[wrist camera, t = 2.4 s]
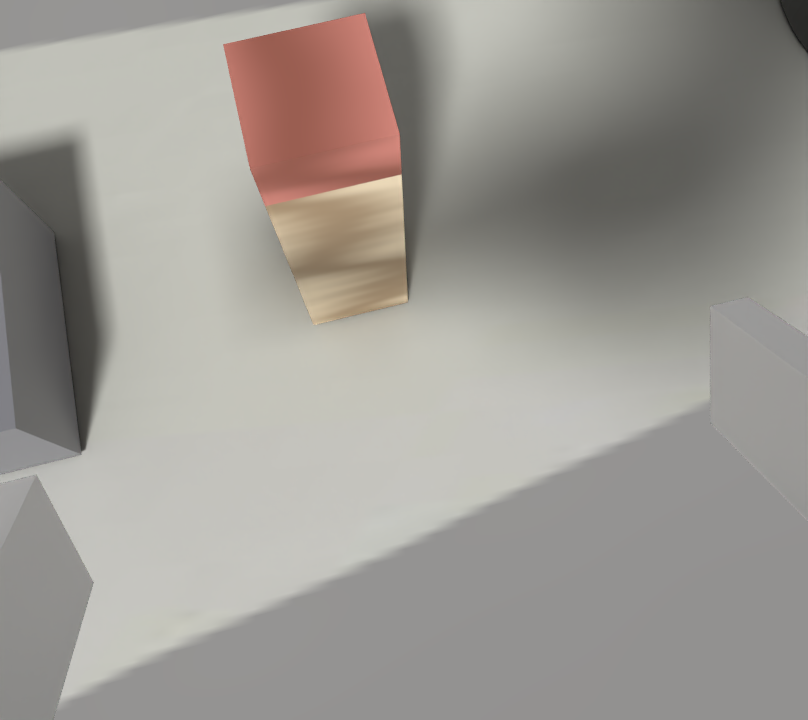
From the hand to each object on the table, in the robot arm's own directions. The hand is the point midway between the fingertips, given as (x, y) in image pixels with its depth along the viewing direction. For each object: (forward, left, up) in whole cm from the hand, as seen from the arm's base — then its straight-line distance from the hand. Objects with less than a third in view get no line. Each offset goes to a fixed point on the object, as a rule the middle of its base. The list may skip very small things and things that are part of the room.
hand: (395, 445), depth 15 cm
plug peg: (0, -10, -15) cm, 18 cm away
